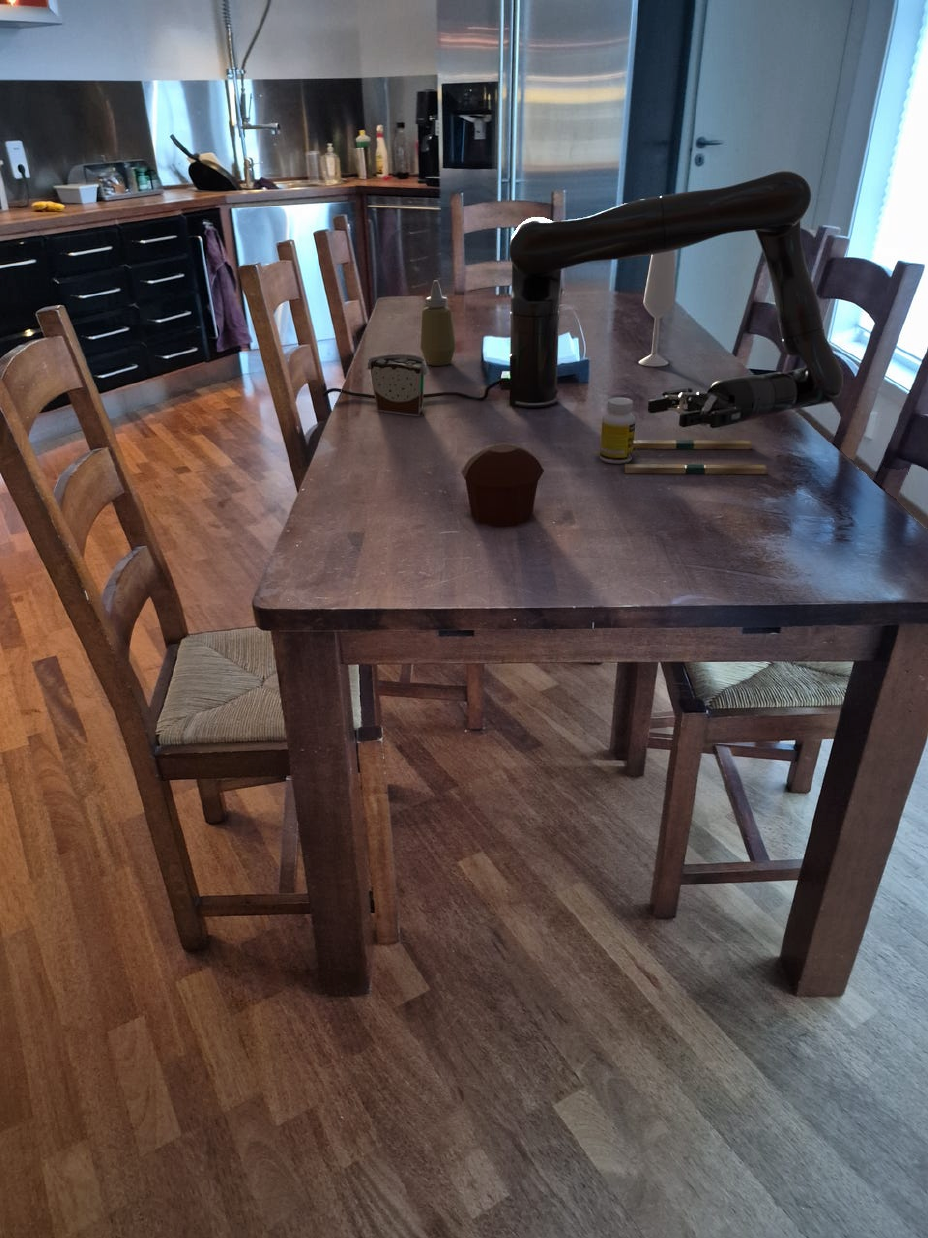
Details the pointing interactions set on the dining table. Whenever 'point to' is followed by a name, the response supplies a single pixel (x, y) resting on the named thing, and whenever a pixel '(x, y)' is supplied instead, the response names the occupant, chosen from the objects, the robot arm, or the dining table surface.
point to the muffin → (502, 484)
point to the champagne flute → (659, 298)
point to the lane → (693, 468)
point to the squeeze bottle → (437, 329)
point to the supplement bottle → (617, 431)
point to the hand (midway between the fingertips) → (664, 413)
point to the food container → (398, 383)
